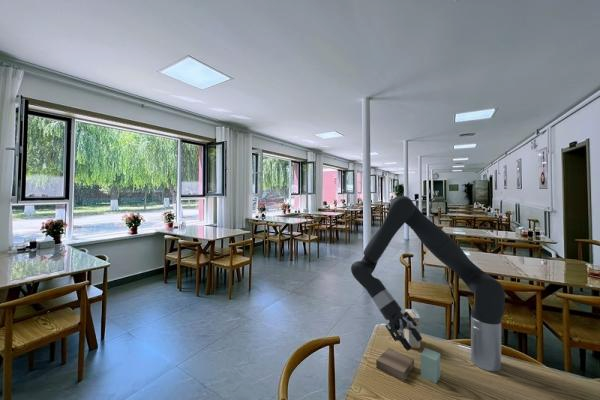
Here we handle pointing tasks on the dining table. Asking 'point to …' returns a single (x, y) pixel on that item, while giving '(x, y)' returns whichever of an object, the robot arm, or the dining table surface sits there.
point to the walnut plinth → (395, 364)
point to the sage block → (430, 365)
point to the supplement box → (408, 334)
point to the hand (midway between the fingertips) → (415, 344)
